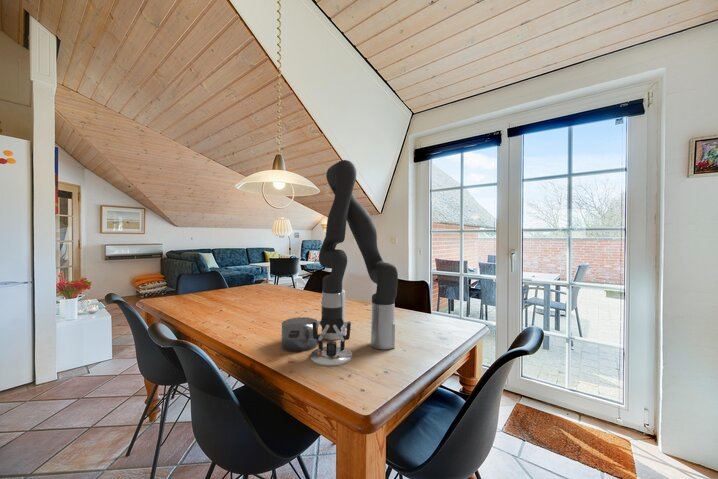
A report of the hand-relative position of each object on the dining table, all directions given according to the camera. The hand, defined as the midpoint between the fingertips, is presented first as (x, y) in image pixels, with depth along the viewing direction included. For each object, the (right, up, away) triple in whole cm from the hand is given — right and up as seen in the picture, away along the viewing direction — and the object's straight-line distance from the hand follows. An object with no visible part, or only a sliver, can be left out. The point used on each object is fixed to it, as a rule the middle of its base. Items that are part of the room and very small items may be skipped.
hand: (331, 350), depth 101 cm
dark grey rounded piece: (-14, -2, +10) cm, 17 cm away
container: (-1, -2, +21) cm, 21 cm away
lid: (0, -3, 0) cm, 3 cm away
